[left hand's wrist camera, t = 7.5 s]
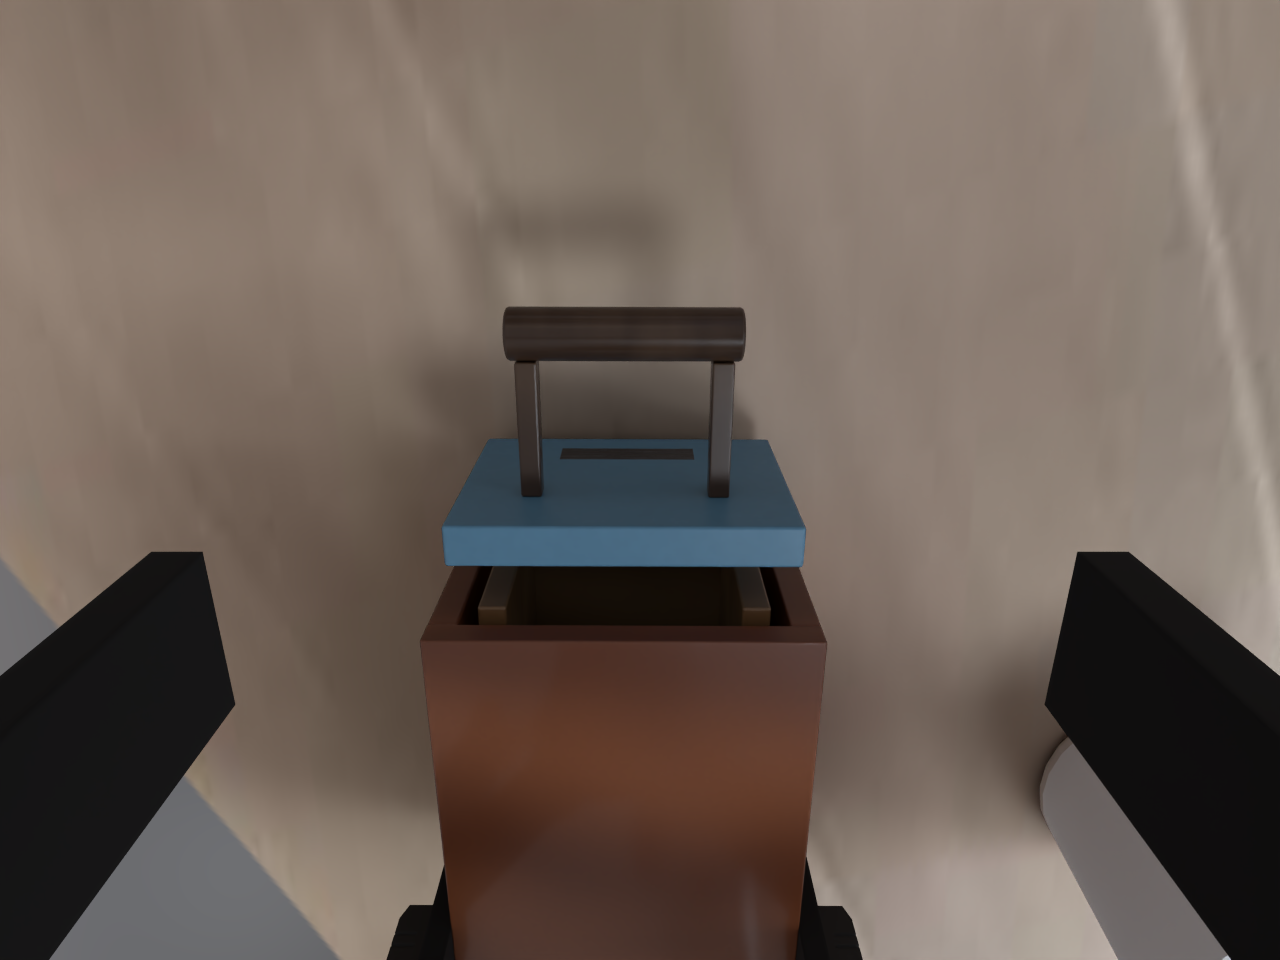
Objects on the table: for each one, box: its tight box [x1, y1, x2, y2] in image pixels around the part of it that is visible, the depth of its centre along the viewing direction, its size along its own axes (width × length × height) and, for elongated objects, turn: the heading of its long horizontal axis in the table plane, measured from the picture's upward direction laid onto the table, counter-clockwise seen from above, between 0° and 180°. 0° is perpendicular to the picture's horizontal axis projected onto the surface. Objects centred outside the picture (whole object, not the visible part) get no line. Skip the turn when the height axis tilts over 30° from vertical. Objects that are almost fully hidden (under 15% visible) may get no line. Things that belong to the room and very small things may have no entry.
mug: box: [1040, 737, 1231, 960], centre depth 30 cm, size 11×9×10 cm
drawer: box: [442, 307, 806, 626], centre depth 27 cm, size 19×10×7 cm, turn 0°
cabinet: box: [420, 566, 827, 960], centre depth 29 cm, size 15×11×9 cm
